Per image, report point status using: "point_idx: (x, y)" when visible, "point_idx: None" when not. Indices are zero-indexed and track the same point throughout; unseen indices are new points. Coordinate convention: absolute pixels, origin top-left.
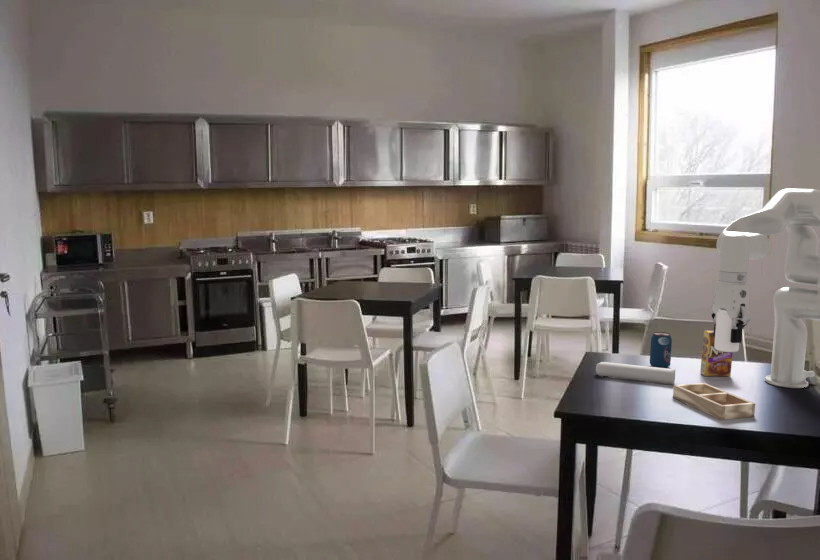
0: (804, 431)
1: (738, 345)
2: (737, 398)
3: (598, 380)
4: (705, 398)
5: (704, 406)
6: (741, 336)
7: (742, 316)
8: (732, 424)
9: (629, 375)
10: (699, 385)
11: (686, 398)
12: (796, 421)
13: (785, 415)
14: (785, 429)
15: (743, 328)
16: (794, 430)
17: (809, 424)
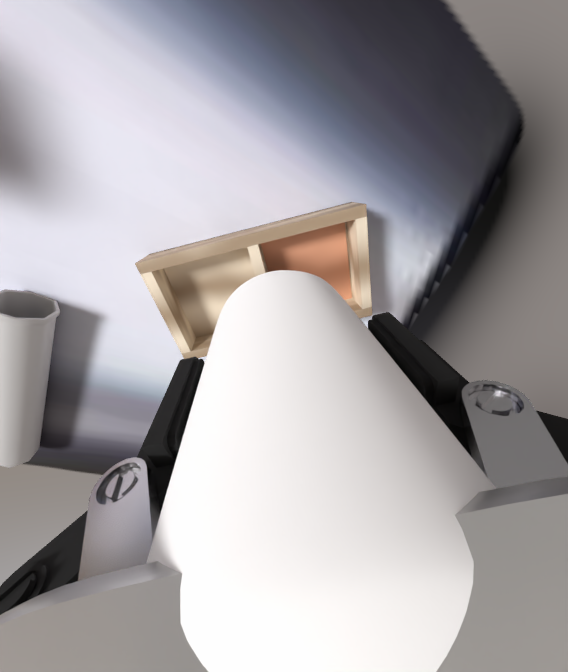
0: (489, 113)
1: (346, 302)
2: (303, 232)
3: (82, 445)
4: None
5: None
6: (410, 335)
7: (527, 519)
8: (390, 290)
9: (43, 402)
10: (160, 286)
11: None
12: (414, 70)
13: (355, 68)
14: (456, 169)
15: (500, 389)
16: (471, 144)
17: (450, 34)
